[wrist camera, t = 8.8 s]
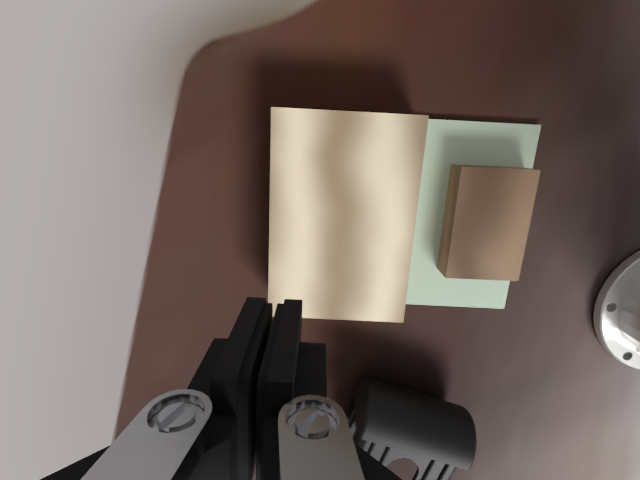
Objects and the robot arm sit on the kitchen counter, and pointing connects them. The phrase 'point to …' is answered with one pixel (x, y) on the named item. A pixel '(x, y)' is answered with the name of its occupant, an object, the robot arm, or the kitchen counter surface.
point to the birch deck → (343, 211)
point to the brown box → (486, 221)
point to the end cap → (411, 429)
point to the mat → (440, 152)
